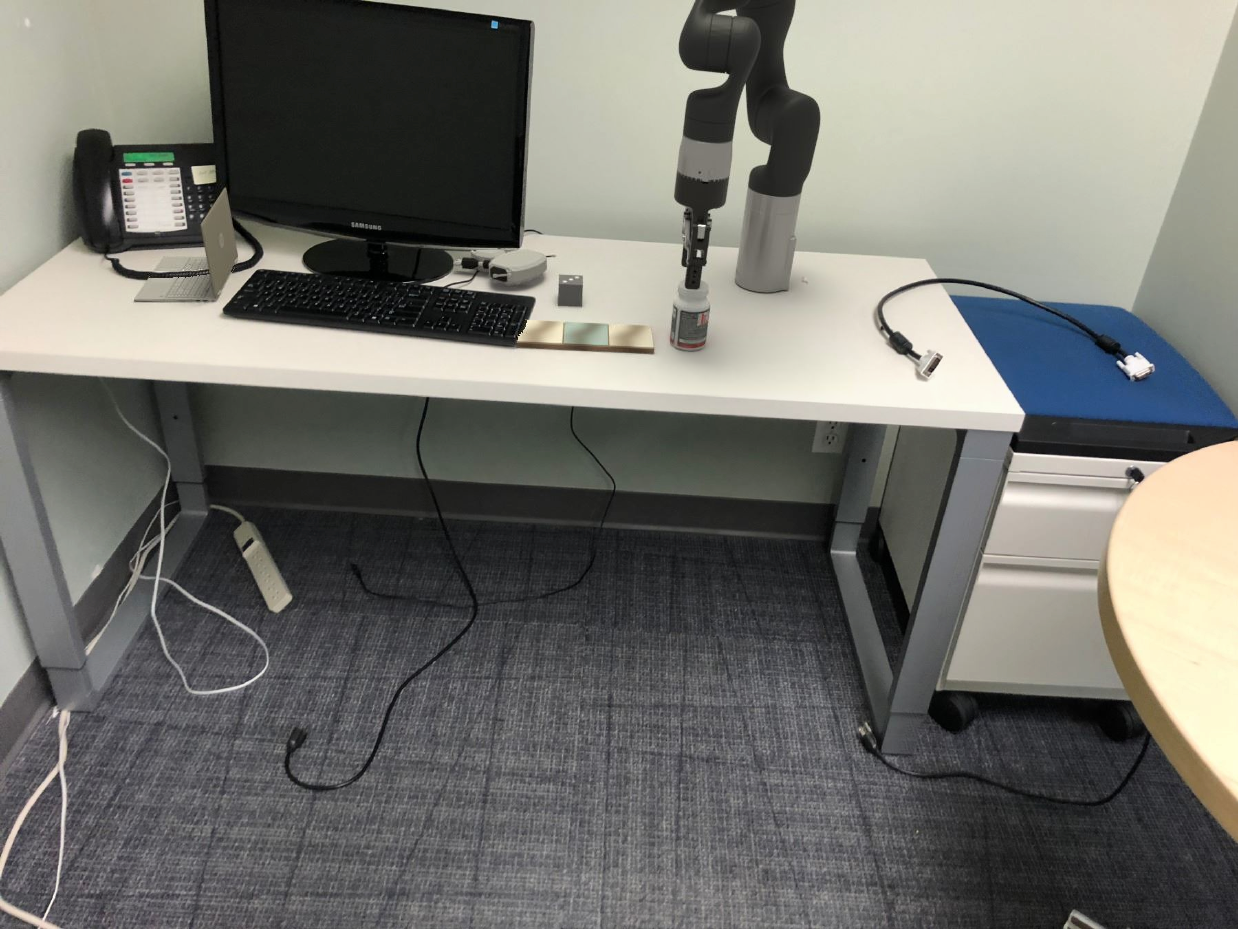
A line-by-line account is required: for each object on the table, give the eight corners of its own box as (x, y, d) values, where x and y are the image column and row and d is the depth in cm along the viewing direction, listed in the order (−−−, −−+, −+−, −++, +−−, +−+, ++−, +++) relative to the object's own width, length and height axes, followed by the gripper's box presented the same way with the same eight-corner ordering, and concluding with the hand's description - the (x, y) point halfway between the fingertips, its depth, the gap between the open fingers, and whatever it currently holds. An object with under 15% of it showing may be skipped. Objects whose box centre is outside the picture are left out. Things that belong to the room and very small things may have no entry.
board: (651, 330, 150) (651, 325, 150) (654, 353, 144) (654, 347, 143) (519, 324, 149) (519, 319, 148) (516, 347, 142) (516, 341, 142)
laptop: (163, 260, 162) (147, 185, 155) (239, 260, 164) (227, 186, 157) (134, 303, 147) (114, 223, 140) (217, 303, 149) (202, 224, 142)
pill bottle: (712, 344, 148) (720, 285, 142) (690, 355, 144) (697, 295, 138) (684, 332, 151) (690, 274, 145) (661, 343, 147) (667, 283, 141)
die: (581, 297, 160) (582, 275, 157) (581, 307, 156) (582, 284, 154) (558, 296, 159) (559, 274, 157) (557, 306, 156) (558, 283, 154)
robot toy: (449, 278, 165) (513, 297, 158) (447, 253, 163) (512, 271, 155) (496, 260, 174) (559, 276, 166) (495, 236, 171) (558, 251, 164)
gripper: (674, 153, 138) (663, 258, 147) (680, 182, 126) (667, 294, 135) (724, 157, 139) (710, 261, 147) (735, 186, 127) (718, 298, 136)
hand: (689, 277), depth 141 cm, fingers open, 8 cm apart
